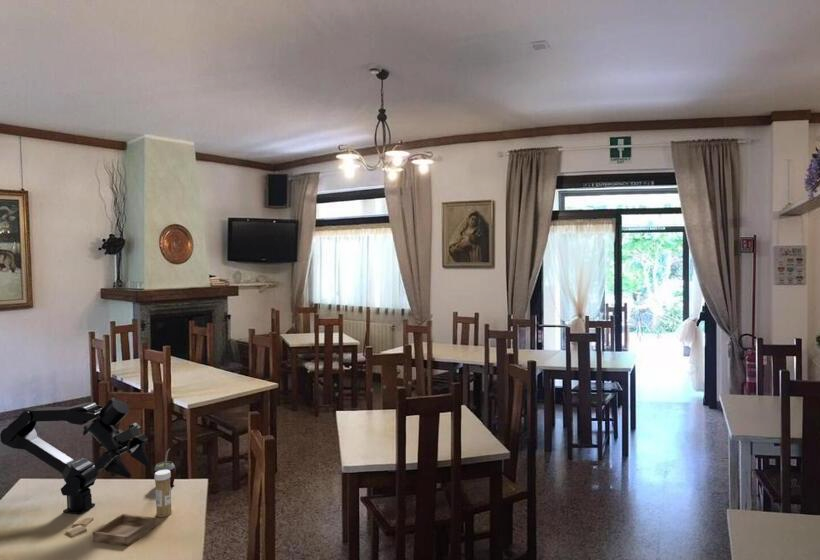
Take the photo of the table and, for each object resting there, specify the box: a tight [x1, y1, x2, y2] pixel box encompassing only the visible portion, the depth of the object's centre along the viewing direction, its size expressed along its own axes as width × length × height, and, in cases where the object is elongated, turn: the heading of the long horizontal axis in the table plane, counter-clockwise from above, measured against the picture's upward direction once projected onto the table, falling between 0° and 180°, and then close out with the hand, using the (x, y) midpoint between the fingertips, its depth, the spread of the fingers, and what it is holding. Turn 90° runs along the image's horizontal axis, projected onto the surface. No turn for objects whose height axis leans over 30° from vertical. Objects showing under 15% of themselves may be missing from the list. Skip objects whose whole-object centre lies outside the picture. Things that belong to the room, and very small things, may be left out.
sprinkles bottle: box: [154, 470, 173, 518], centre depth 174 cm, size 5×5×13 cm
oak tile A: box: [72, 517, 94, 528], centre depth 169 cm, size 4×4×1 cm
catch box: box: [92, 513, 157, 547], centre depth 163 cm, size 12×12×2 cm
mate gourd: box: [153, 447, 177, 488], centre depth 195 cm, size 8×8×15 cm
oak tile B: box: [65, 525, 88, 538], centre depth 164 cm, size 4×4×1 cm
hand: (139, 471), depth 175 cm, fingers open, 9 cm apart
